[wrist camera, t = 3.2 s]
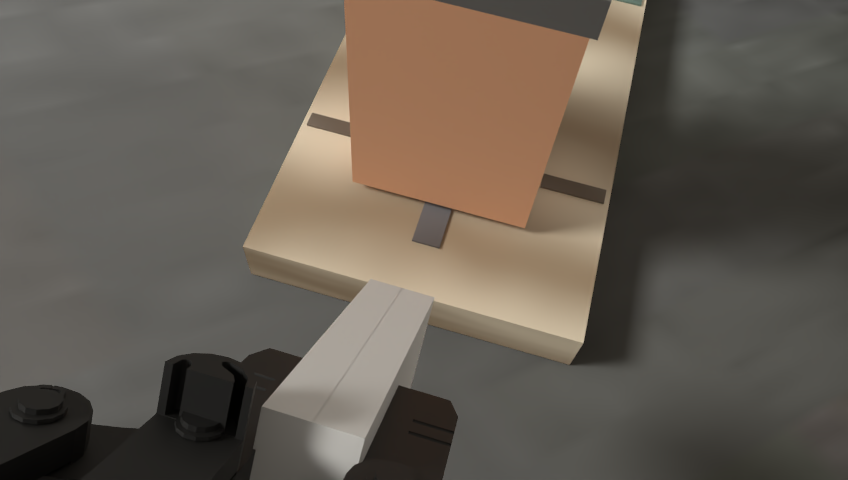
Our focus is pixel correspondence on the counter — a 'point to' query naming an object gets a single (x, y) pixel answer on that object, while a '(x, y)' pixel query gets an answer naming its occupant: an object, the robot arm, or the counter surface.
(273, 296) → the counter surface
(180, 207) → the counter surface
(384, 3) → the fader knob
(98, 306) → the counter surface
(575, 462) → the counter surface
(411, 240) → the fader board
